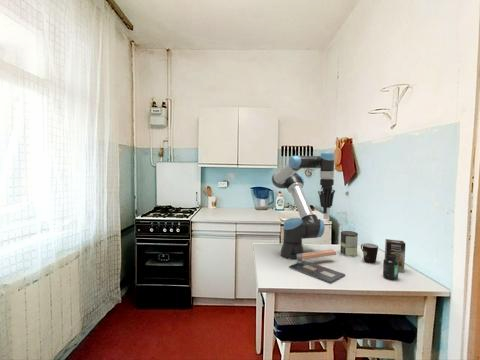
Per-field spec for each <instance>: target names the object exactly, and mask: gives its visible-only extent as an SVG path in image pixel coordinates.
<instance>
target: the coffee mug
mask: <svg viewBox="0 0 480 360" xmlns="http://www.w3.org/2000/svg"><path fill="white" fill-rule="evenodd" d="M360 249H361V251H362V252H363V262H364V263H366V264H370V265H373V264H376V263H377V257H378V256H377V255H378V251H379V245H377V244H374V243H371V242H370V243H369V242H365V243H362V244H361V245H360Z"/></svg>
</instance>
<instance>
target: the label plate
mask: <svg viewBox="0 0 480 360" xmlns="http://www.w3.org/2000/svg"><path fill="white" fill-rule="evenodd" d="M288 268H289V269H290V270H294V271H296V272H299V273H302V274H304V275H306V276H309V277H312V278H314V279H317V280H320V281H322V282H325V283H326V284H333V283H335V282H337V281H339V280H341V279H343V278H344V277H345V278H346V274H345V273H343V272H340V271H337V270H334V269H331V268H327V267H325V266H322V265H319V264H317V263H314V262H310V261H308V260H297V259H296V263H294V264H291V265H289V266H288Z"/></svg>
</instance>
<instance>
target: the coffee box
mask: <svg viewBox="0 0 480 360" xmlns="http://www.w3.org/2000/svg"><path fill="white" fill-rule="evenodd" d="M386 254H395V255H396V256H397V261H398V263H399V268H398V273H403V274H404V273H405V262H406V261H405V260H406V258H405V257H406V242H404V240H399V239H397V240H396V239H387V238H385V244H384V259H386Z"/></svg>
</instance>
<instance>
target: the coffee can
mask: <svg viewBox="0 0 480 360" xmlns="http://www.w3.org/2000/svg"><path fill="white" fill-rule="evenodd" d="M358 236H359V233H358V232H356V231H353V230H342V231H340V255H342V256H345V257H348V258H349V257H352V258H353V257H354V258H355V257H357V256H358V241H359V240H358Z"/></svg>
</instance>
